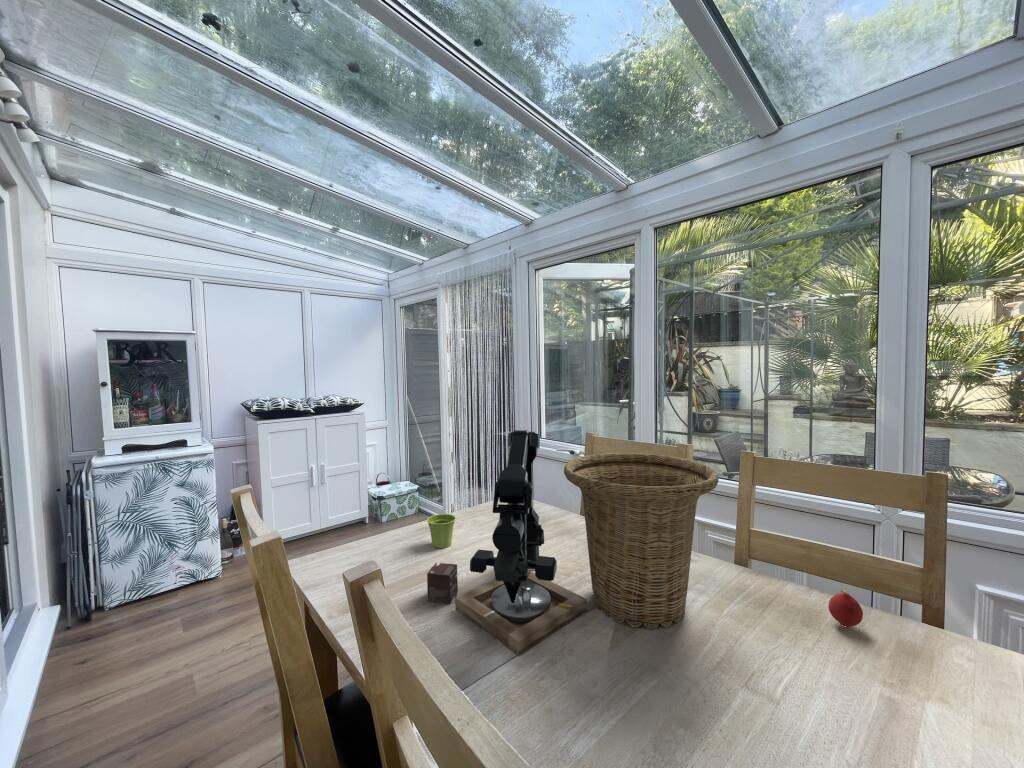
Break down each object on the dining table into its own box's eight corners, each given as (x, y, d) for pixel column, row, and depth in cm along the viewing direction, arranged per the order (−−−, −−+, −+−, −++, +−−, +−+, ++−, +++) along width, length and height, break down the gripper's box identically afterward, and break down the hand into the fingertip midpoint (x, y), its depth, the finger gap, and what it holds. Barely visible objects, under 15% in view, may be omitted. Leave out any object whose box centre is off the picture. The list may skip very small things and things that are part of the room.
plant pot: (424, 542, 139) (423, 516, 138) (451, 537, 143) (451, 511, 142) (431, 553, 130) (430, 525, 130) (460, 547, 134) (459, 520, 134)
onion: (855, 621, 92) (855, 586, 92) (867, 637, 87) (868, 599, 87) (824, 616, 94) (824, 582, 94) (834, 632, 89) (834, 595, 89)
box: (450, 605, 101) (449, 575, 101) (426, 602, 103) (426, 573, 102) (458, 591, 107) (457, 563, 107) (436, 589, 109) (435, 562, 108)
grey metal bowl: (486, 593, 104) (486, 566, 103) (541, 586, 107) (540, 559, 106) (497, 627, 90) (496, 595, 90) (558, 618, 93) (558, 587, 93)
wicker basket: (593, 558, 125) (592, 448, 124) (724, 588, 107) (724, 459, 106) (540, 618, 95) (538, 474, 94) (709, 674, 77) (709, 497, 76)
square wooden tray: (522, 577, 114) (522, 566, 114) (587, 611, 98) (587, 597, 97) (455, 610, 99) (455, 596, 99) (518, 656, 83) (518, 640, 83)
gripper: (460, 543, 87) (461, 617, 87) (550, 552, 82) (549, 630, 83) (477, 524, 98) (477, 589, 98) (557, 531, 93) (556, 599, 94)
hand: (513, 601), depth 93 cm, fingers closed
